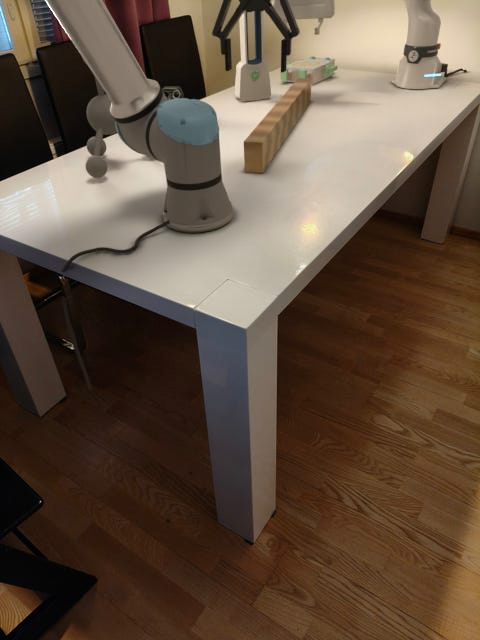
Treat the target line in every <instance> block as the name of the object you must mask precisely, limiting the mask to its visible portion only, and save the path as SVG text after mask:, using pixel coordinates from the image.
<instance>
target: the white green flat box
mask: <svg viewBox="0 0 480 640" xmlns="http://www.w3.org/2000/svg"><path fill="white" fill-rule="evenodd" d="M337 70H338V65H336V58H330V57H315V56H310V57H308V58H305V59H299V60H296V61H293V62H291V61H287V64H286V71H285V72H281V71H280V82H287V83H294V82H295V81H296V80H297V79H298V78H312V79H311V85H316V84H317V83H320V82H322V81H324V80H326V79H329V78H331V77H332V75H333V74H335V72H336V71H337Z"/></svg>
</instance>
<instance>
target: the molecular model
mask: <svg viewBox="0 0 480 640" xmlns="http://www.w3.org/2000/svg"><path fill="white" fill-rule="evenodd" d="M81 59H82V60H83V62H84V63H85V64H86V65H87V63H86V62H85V60H84V59H83V57H82V56H81ZM93 75H94V74H93ZM94 80H95V85H96V90H97V95H96V96H94V97H93V98H91V99H90V101H89V102H88V104H87V107H86V118H87V121H88V123H89V126H90V127H91V128H92V129H93V130H94V131H95V136H91V137H89V139H88V140H87V142H86V149H87V151H88V153H89V154H90V155H91V156H90V157H88V158H87V159H86V162H85V170H86V172H87V174H88V175H89V176H90V177H92V178H96V179H100V178H103V177H104V176H106V175H107V172H108V163H107V161H106V160H105V159H104V158H103V157H102V156H103V155H105V154H106V152H107V144H106V141H105V140H104V135H106V136H109V135H114V134H117V130H116V127H115V122H116V120H115V119H114V117H113V116H112V114H111V112H110V108H111V103H112V101H111V100H110V98H109V97H108V95H107V94H105V90H104V89H103V87H102V86H101V84H100V83H99V81H98V80H97V78H96V77H95V75H94ZM146 157H147V158H149V157H148V156H146Z"/></svg>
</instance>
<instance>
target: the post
mask: <svg viewBox="0 0 480 640" xmlns="http://www.w3.org/2000/svg"><path fill="white" fill-rule="evenodd" d="M311 79H312V78H298V79H297V80H296V81H295V82H292V84H291V86H290V87H289V88H288V89H287V90H286V91H285V93H284V94H283V95H282V96H281V97H280V99H278V101H277V102H275V104H274V105H273V107H272V108H271V109H270V110H269V111H268V112H267V114H266V115H265V116H264V117H263V119H261V120H260V122H259V123H258V124H257V125H256V127H255V128H254V129H253V130H252V131H251V133H249V135H248V136H247V137H246V138H245V139H244V140H243V159H244V160H243V162H244V163H243V164H244V172H245V173H254V174H264V172H265V171H266V170H267V168H268V166H269V165H270V163H271V162H272V160H273V159H274V157H275V156H276V154H277V153H278V151H279V149H280V148H281V147H282V145H283V144H284V142H285V140H286V139H287V138H288V136H289V135H290V133H291V132H292V130H293V129H294V127H295V125H296V124H297V123H298V121H299V120H300V119H301V117H302V115H303V114H304V112H305V111H306V109H307V108H308V106H309V104H310V103H311V101H312V84H311Z"/></svg>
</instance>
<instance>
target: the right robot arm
mask: <svg viewBox="0 0 480 640" xmlns="http://www.w3.org/2000/svg"><path fill="white" fill-rule="evenodd" d="M402 1H403V3H404V5H405V8H406V11H407V18H408V21H407V22H408V23H407V24H408V25H407V35H406V42H405V44H404V47H403V53H402V54H403V57H402V58H400V60H399V62H398V66H397V71H396V75H395V79H392V80H391V83H392V84H394V85H395V86H396V87H398V88H402V89H407V90H408V89H409V90H427V89H438V88H440V87H441V86H442V85H443V84H444V83H445V82H446V80H447V77H448V76H452V75H454V74H457V73H459V72H463V73H468V71H467V69H465V70H463V69H462V68H459V69H456V70H454V71H451V72H448V67H449V64H448V63H443V62H441V60H440V58H439V57H438V55H439V50H440V49H441V43H440V42H438V41H439V36H440V32H441V31H440V30H441V25H442V24H441V23H442V22H441V17H440V16H439V15H438V13H436V12H435V11H434V10H433V8H432V4H431V3H432V2H431V0H402ZM288 2H289V5H290V7H291V10H292V12H293V15H294V18H295V20H314V19H317V22H318V23H319V24H318V26H317V27H315V28H314V35H315V36H319V35H320V33H321V27H322V25H323V23H324V20H325V19H332V18H333V17H334V15H335V13H336V5H335V0H288ZM271 4H272V5H273V7H274V9H275V11H276V12H277V13H278V15H279V16H280V18H281V19H282V21H283V22H284V24H285V25H286V26H287V28H288V29H289V31H290V32H291V29H290V27H289V24H288V22H287V19H286V17H285V14H284V12H283V9H282V7H281V4H280V0H272V2H271ZM442 73H444V74H443V75H442Z"/></svg>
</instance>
